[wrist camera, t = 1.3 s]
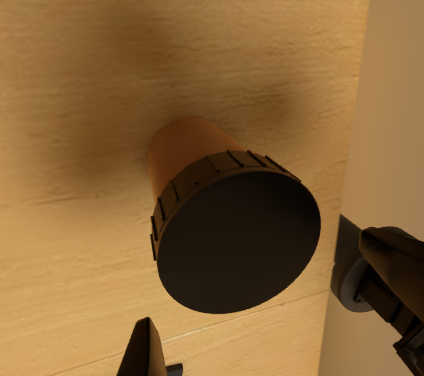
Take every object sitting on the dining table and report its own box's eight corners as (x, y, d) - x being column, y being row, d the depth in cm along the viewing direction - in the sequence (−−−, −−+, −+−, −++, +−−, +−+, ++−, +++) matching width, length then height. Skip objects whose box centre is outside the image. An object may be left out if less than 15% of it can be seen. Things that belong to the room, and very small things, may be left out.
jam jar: (234, 119, 20) (323, 174, 11) (223, 195, 22) (288, 290, 13) (147, 114, 18) (169, 175, 9) (146, 197, 20) (162, 308, 12)
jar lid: (308, 150, 12) (343, 169, 10) (276, 270, 15) (299, 303, 13) (151, 146, 10) (158, 169, 8) (148, 285, 13) (153, 326, 11)
